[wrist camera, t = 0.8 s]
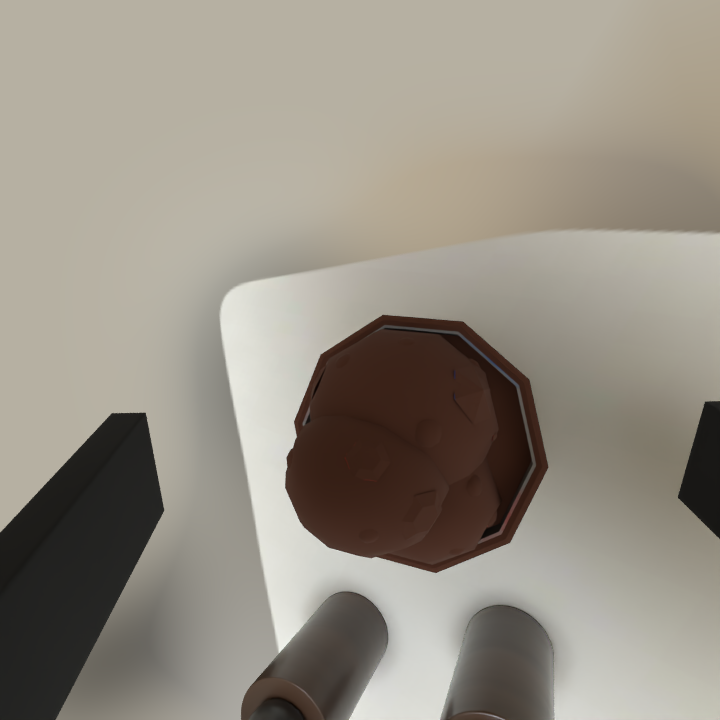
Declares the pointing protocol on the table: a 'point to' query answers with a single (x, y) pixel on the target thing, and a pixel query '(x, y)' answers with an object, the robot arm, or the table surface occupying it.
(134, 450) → the robot arm
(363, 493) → the ice cream bowl
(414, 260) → the table surface
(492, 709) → the walnut mill middle
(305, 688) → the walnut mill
